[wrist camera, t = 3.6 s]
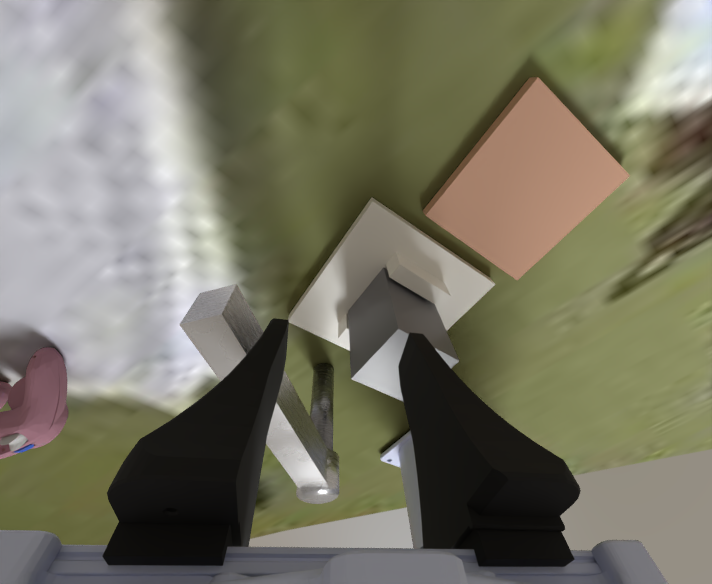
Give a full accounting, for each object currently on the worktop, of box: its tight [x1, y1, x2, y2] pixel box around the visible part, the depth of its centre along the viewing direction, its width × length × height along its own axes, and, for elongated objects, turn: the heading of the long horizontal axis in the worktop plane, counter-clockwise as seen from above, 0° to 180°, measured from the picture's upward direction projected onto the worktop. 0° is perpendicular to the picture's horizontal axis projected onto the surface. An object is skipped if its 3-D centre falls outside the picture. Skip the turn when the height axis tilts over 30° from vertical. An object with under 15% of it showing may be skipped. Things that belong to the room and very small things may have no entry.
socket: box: [288, 197, 495, 450], centre depth 20 cm, size 10×14×7 cm
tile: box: [423, 77, 630, 280], centre depth 19 cm, size 8×8×1 cm
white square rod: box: [180, 284, 339, 504], centre depth 16 cm, size 2×14×2 cm, turn 15°
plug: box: [348, 267, 459, 402], centre depth 19 cm, size 4×4×6 cm
